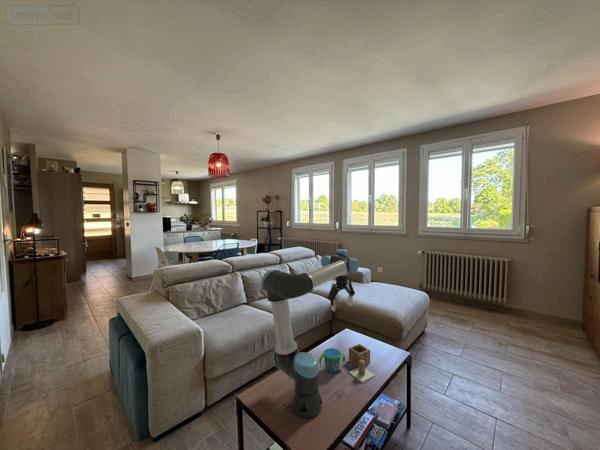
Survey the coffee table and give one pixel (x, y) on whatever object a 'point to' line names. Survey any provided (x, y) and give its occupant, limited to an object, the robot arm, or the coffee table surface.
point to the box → (359, 354)
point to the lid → (361, 372)
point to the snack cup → (332, 359)
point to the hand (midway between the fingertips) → (341, 308)
